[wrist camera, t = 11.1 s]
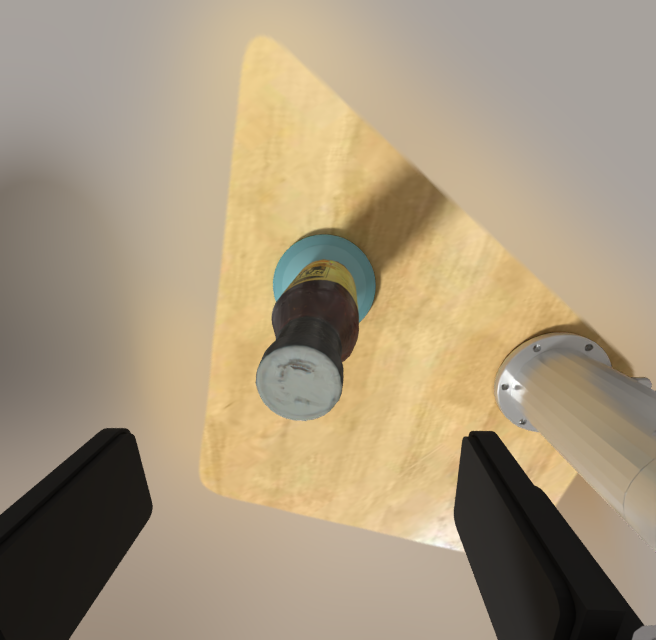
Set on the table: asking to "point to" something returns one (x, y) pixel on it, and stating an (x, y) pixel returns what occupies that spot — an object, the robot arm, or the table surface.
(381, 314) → the table surface
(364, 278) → the coaster
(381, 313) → the table surface
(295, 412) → the sauce bottle
